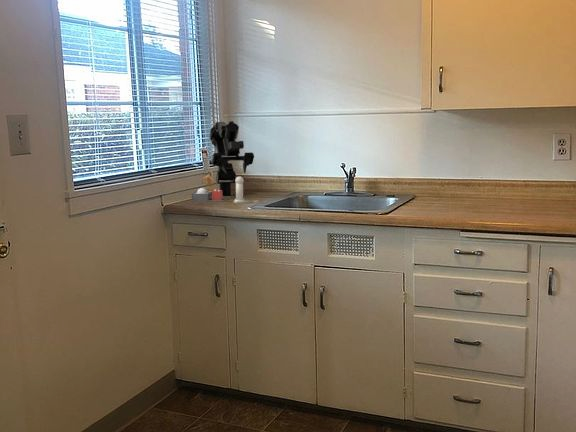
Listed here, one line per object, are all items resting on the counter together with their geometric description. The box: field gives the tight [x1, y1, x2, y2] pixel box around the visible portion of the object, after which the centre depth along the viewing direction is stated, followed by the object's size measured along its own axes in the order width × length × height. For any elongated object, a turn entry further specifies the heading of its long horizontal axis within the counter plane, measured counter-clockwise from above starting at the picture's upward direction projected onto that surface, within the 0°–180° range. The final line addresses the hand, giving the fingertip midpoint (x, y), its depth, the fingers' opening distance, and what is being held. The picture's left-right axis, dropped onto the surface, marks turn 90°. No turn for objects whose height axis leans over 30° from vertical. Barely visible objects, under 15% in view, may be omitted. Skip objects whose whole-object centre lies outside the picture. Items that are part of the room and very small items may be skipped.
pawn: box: [233, 175, 246, 204], centre depth 281 cm, size 5×5×11 cm
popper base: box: [190, 189, 229, 205], centre depth 289 cm, size 9×15×6 cm, turn 86°
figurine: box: [201, 173, 218, 192], centre depth 299 cm, size 8×6×12 cm
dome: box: [195, 187, 209, 194], centre depth 289 cm, size 6×6×5 cm
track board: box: [233, 199, 267, 204], centre depth 284 cm, size 16×6×1 cm, turn 116°
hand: (235, 172), depth 287 cm, fingers open, 8 cm apart
